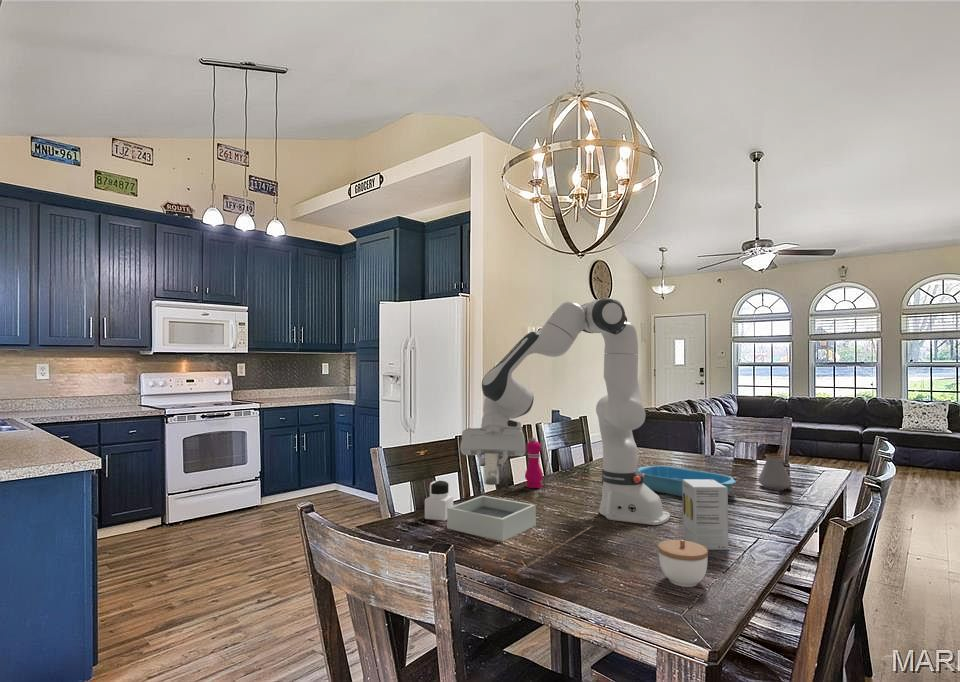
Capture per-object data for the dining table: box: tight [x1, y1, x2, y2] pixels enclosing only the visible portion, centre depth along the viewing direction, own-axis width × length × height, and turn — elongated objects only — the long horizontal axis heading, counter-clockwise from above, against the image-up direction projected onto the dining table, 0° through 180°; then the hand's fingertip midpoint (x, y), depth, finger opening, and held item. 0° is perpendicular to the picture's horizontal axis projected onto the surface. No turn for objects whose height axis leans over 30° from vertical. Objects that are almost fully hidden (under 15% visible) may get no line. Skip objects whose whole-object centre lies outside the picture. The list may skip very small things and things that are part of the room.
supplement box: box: [682, 479, 729, 551], centre depth 147 cm, size 10×9×17 cm
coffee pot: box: [757, 445, 792, 491], centre depth 214 cm, size 21×12×15 cm, turn 139°
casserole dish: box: [637, 465, 737, 498], centre depth 205 cm, size 37×22×7 cm, turn 46°
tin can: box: [483, 452, 500, 486], centre depth 160 cm, size 4×4×9 cm
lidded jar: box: [657, 539, 709, 588], centre depth 122 cm, size 11×11×9 cm
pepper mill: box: [524, 436, 544, 489], centre depth 213 cm, size 7×7×20 cm
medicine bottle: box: [424, 480, 454, 522], centre depth 171 cm, size 7×7×12 cm
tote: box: [446, 495, 537, 542], centre depth 160 cm, size 20×18×7 cm
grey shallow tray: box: [471, 507, 514, 518], centre depth 160 cm, size 17×15×3 cm
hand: (491, 465), depth 160 cm, fingers closed on tin can, 4 cm apart
